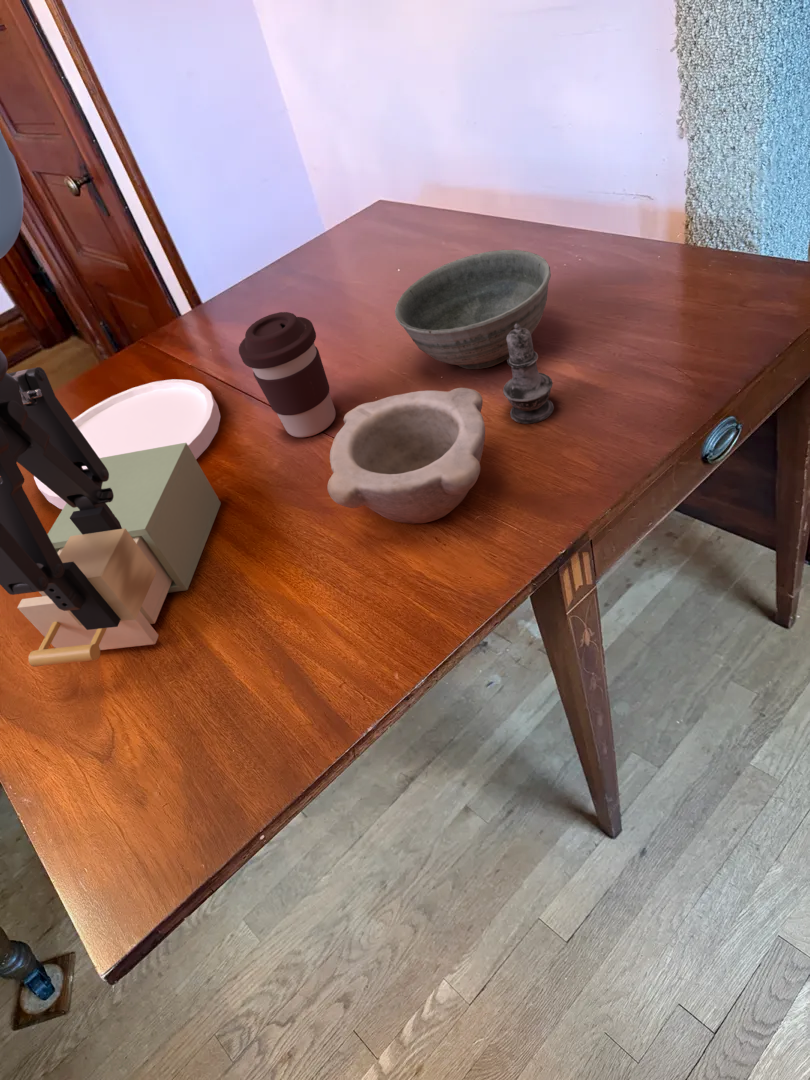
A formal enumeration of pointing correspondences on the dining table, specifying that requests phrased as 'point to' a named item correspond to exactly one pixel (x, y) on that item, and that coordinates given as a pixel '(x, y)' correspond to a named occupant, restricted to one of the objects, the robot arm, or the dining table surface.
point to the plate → (148, 422)
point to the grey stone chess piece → (526, 380)
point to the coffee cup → (290, 372)
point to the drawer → (86, 644)
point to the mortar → (409, 454)
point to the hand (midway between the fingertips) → (117, 595)
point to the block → (112, 569)
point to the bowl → (475, 306)
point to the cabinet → (157, 507)
